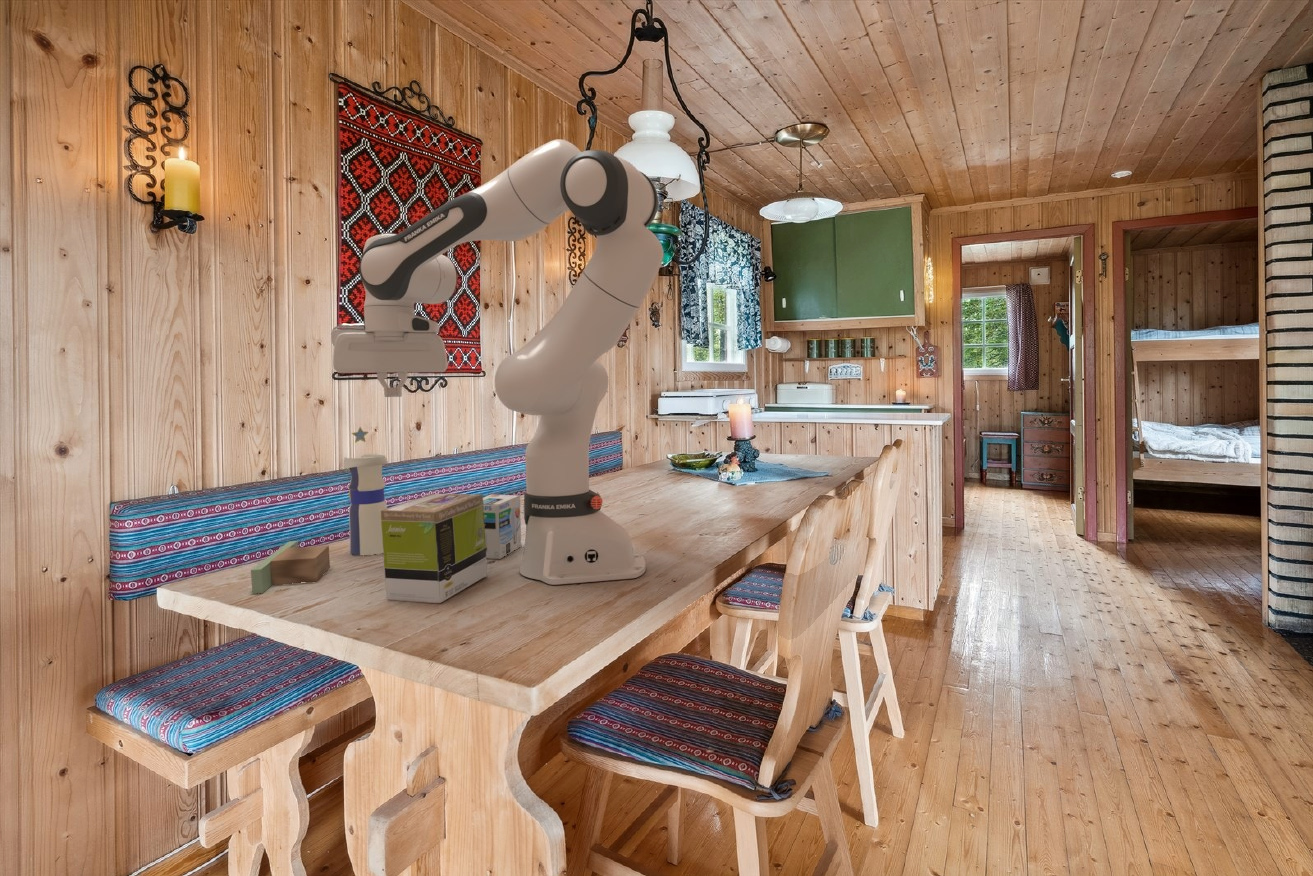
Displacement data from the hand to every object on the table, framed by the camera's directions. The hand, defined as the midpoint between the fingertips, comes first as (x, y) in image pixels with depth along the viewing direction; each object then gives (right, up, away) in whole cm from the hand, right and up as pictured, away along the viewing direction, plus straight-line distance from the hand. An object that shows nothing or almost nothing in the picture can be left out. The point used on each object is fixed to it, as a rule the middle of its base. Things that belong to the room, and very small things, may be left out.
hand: (393, 396), depth 131 cm
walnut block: (-12, -33, -10) cm, 36 cm away
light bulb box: (+18, -31, +6) cm, 36 cm away
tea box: (+14, -33, -18) cm, 40 cm away
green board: (-17, -32, -10) cm, 38 cm away
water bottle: (-8, -31, +7) cm, 33 cm away
